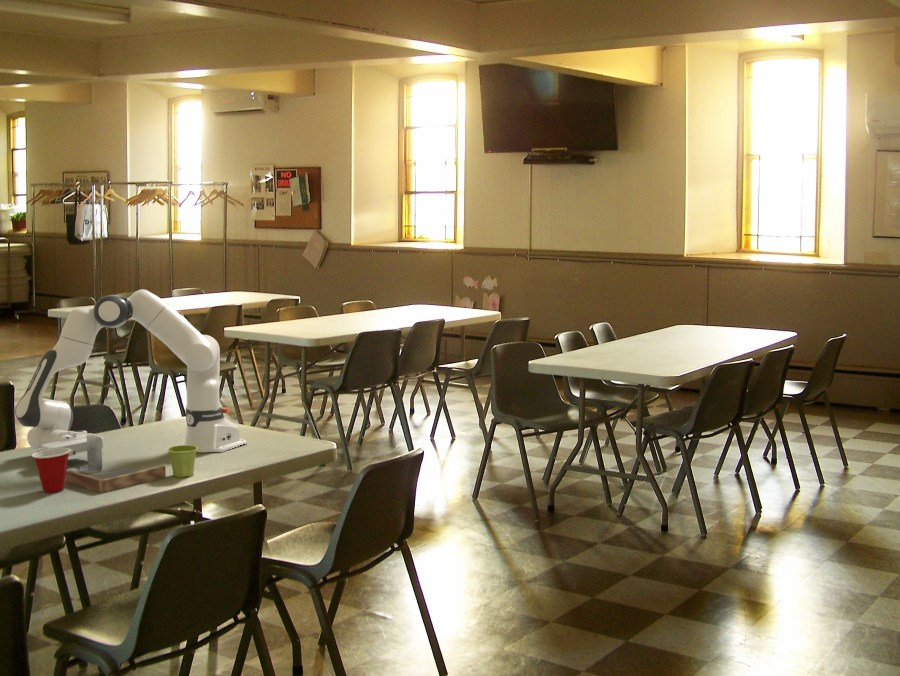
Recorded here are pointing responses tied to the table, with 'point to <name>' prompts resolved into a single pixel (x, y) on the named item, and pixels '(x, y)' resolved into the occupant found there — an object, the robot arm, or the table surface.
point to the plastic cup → (52, 468)
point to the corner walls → (115, 479)
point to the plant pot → (182, 460)
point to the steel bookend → (93, 455)
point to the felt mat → (115, 473)
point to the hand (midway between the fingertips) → (86, 450)
